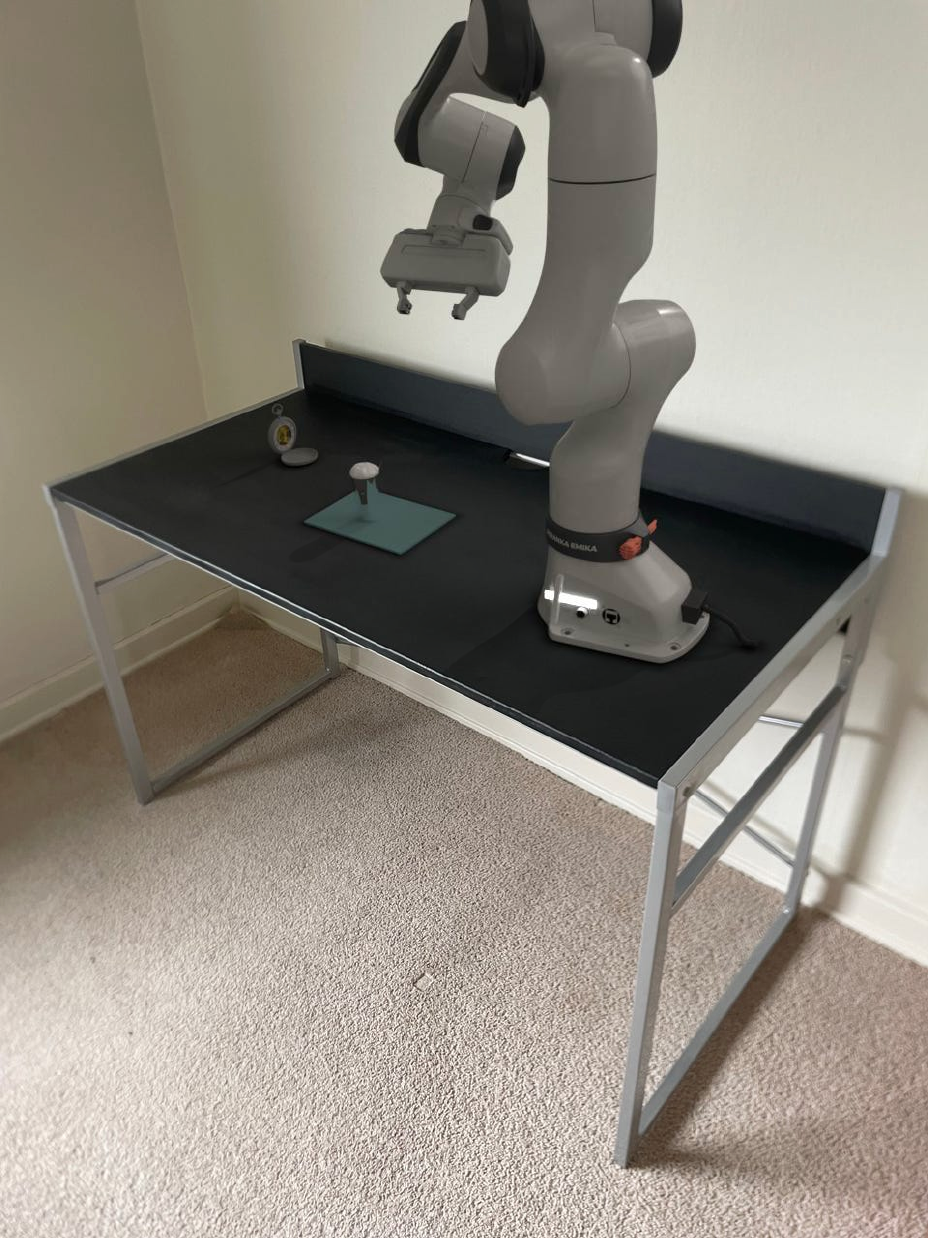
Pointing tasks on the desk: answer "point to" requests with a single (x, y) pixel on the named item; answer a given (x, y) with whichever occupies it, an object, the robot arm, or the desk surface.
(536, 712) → the desk surface
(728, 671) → the desk surface
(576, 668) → the desk surface
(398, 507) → the mouse pad
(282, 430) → the pocket watch
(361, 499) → the milkshake
